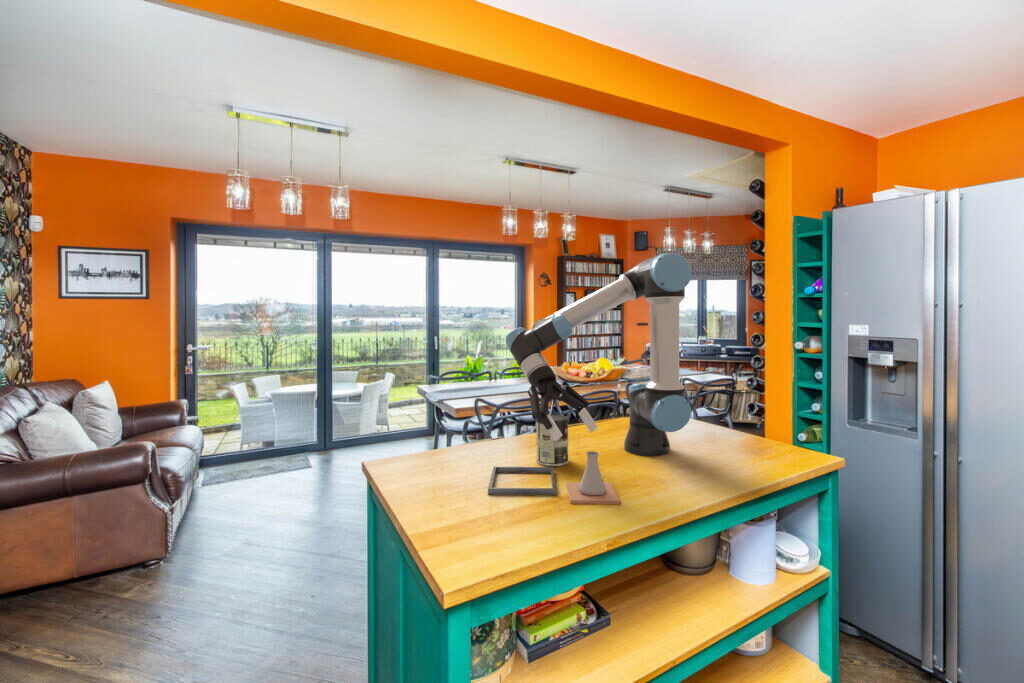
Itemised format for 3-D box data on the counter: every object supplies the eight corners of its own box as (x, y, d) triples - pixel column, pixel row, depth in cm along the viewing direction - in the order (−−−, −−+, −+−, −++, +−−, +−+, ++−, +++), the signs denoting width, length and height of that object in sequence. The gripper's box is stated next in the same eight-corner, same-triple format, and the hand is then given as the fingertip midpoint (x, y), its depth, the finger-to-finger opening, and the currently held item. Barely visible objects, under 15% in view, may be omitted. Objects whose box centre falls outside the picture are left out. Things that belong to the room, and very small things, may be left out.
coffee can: (566, 456, 150) (566, 413, 149) (570, 466, 139) (570, 421, 139) (535, 456, 150) (535, 414, 149) (536, 466, 140) (536, 421, 139)
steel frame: (553, 472, 134) (553, 467, 134) (556, 495, 117) (556, 489, 117) (493, 471, 135) (493, 466, 135) (488, 494, 118) (487, 488, 118)
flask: (607, 487, 120) (607, 449, 119) (606, 497, 113) (606, 457, 112) (579, 484, 122) (579, 448, 121) (576, 495, 115) (576, 456, 114)
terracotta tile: (611, 485, 123) (611, 482, 123) (619, 503, 111) (619, 500, 111) (566, 485, 123) (566, 482, 123) (570, 503, 112) (570, 500, 111)
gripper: (562, 377, 142) (600, 433, 131) (498, 385, 126) (535, 450, 115) (575, 361, 137) (615, 418, 126) (510, 367, 122) (549, 433, 111)
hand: (577, 434), depth 121 cm, fingers open, 13 cm apart
